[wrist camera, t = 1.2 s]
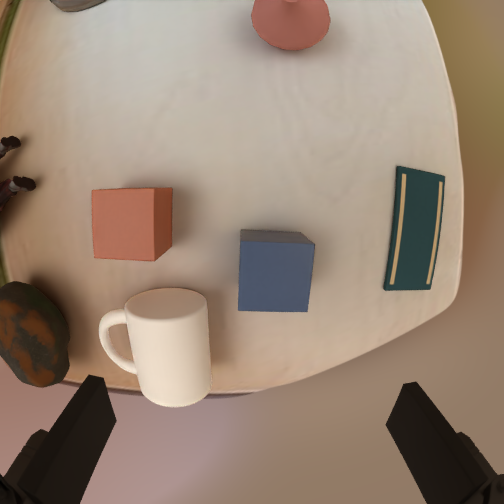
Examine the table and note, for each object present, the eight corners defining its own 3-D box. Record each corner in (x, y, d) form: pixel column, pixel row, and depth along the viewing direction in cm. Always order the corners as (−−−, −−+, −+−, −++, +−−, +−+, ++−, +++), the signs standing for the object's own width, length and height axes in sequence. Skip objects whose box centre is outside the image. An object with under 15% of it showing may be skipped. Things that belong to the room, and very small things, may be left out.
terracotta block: (118, 188, 27) (91, 190, 21) (172, 187, 27) (154, 188, 21) (119, 244, 28) (93, 258, 22) (172, 246, 29) (155, 261, 23)
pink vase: (254, 51, 25) (234, 37, 16) (256, -7, 21) (237, -45, 11) (325, 56, 25) (344, 44, 15) (326, -2, 20) (345, -39, 11)
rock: (95, 365, 32) (62, 411, 22) (42, 360, 32) (7, 397, 22) (63, 267, 28) (11, 296, 19) (11, 275, 28) (-36, 299, 19)
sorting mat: (396, 166, 27) (399, 165, 27) (442, 176, 27) (445, 176, 27) (382, 289, 30) (385, 291, 30) (428, 288, 31) (430, 289, 30)
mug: (211, 288, 30) (200, 322, 22) (215, 365, 32) (208, 411, 24) (108, 284, 29) (73, 312, 21) (122, 358, 32) (98, 396, 24)
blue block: (241, 229, 28) (240, 240, 22) (300, 232, 29) (315, 244, 23) (238, 286, 30) (237, 310, 24) (295, 288, 30) (307, 312, 24)
